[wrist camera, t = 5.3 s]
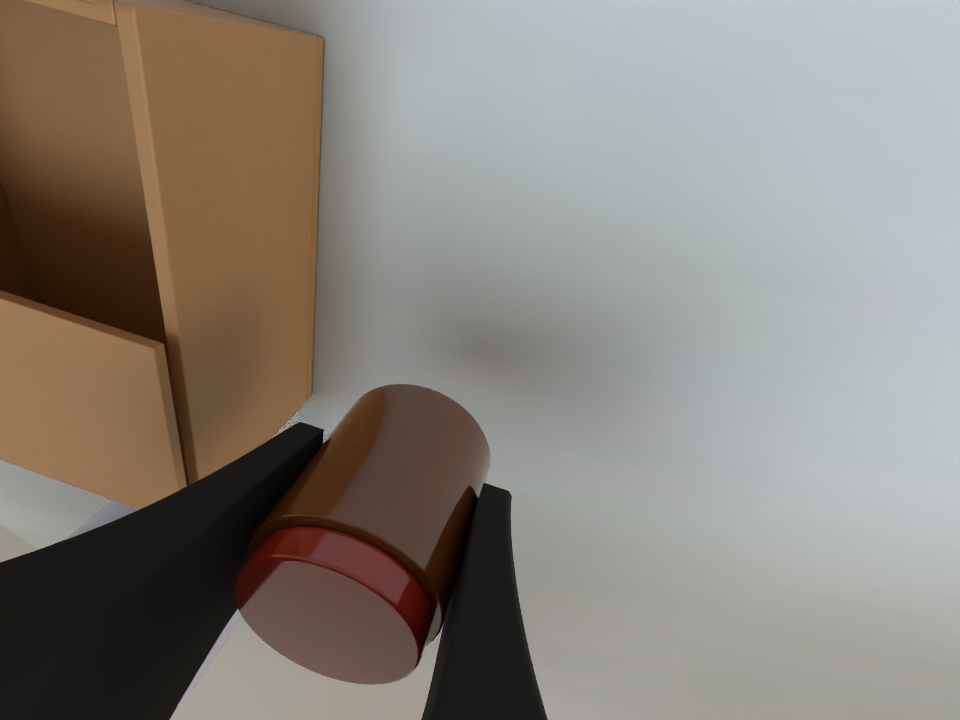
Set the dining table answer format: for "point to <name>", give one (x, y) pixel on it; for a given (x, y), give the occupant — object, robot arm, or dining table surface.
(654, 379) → the dining table surface
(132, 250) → the carton
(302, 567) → the spice jar
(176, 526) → the robot arm
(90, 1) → the flap
